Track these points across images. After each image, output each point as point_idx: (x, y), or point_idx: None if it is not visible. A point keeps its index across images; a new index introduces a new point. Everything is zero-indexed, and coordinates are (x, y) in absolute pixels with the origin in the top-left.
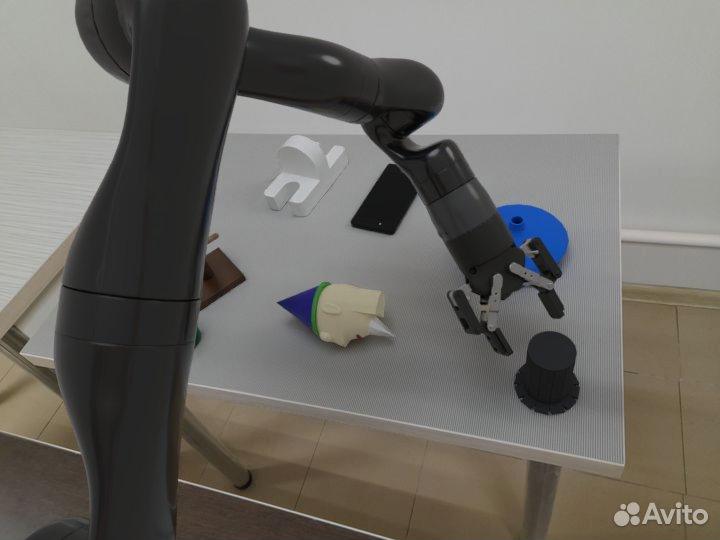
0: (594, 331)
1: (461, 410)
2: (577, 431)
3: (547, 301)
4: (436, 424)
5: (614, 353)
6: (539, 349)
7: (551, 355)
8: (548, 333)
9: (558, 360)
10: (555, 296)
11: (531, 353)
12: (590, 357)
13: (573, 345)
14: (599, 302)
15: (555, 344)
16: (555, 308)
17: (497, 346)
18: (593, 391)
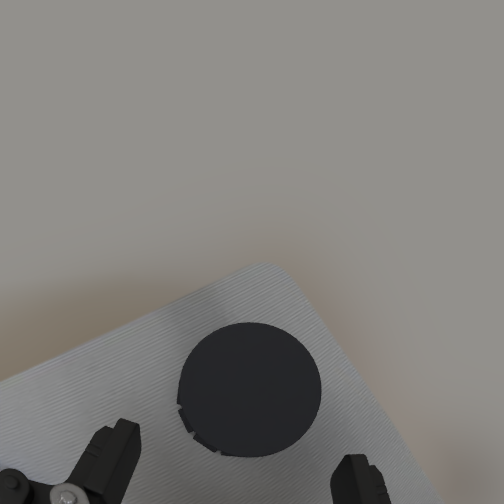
0: (80, 383)
1: (377, 464)
2: (276, 314)
3: (118, 481)
4: (416, 465)
5: (103, 336)
6: (275, 416)
7: (269, 379)
8: (206, 428)
9: (270, 355)
10: (87, 465)
11: (301, 424)
12: (132, 366)
13: (197, 350)
14: (28, 396)
15: (227, 392)
16: (124, 448)
17: (383, 487)
18: (192, 331)
